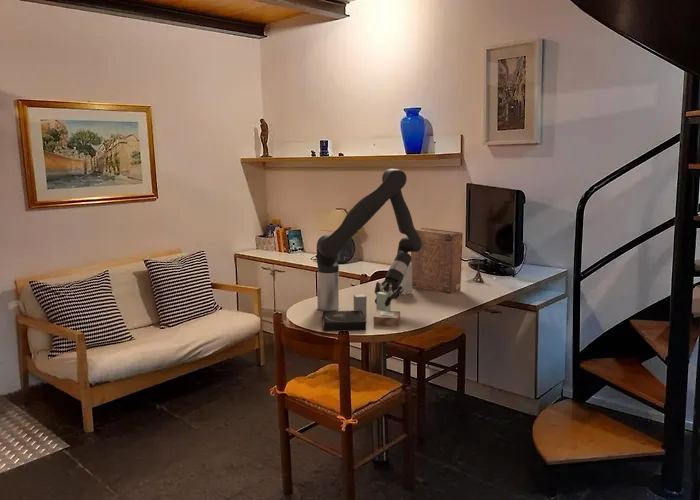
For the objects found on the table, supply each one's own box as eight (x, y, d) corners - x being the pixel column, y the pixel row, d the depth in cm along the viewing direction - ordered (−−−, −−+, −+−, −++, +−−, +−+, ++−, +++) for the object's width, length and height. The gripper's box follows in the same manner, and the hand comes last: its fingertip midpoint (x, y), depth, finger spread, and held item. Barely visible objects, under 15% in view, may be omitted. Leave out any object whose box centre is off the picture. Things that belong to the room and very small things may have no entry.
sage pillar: (384, 314, 263) (385, 294, 261) (376, 312, 266) (376, 292, 264) (390, 312, 266) (390, 292, 265) (382, 310, 269) (382, 291, 268)
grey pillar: (356, 317, 258) (356, 297, 257) (353, 314, 263) (353, 294, 261) (366, 316, 259) (366, 296, 258) (363, 314, 264) (363, 294, 262)
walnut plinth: (373, 326, 247) (373, 316, 246) (376, 319, 257) (376, 309, 256) (398, 327, 245) (398, 317, 245) (400, 320, 255) (400, 310, 254)
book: (409, 285, 317) (411, 229, 312) (420, 283, 324) (421, 227, 319) (450, 293, 300) (452, 234, 295) (460, 290, 307) (462, 232, 302)
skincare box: (412, 293, 301) (413, 262, 299) (404, 295, 296) (405, 264, 294) (399, 290, 307) (399, 260, 304) (391, 292, 302) (391, 262, 299)
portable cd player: (321, 320, 255) (321, 311, 254) (361, 319, 257) (361, 310, 256) (323, 332, 239) (323, 322, 238) (365, 331, 241) (366, 321, 240)
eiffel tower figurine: (474, 278, 337) (475, 255, 335) (491, 281, 331) (492, 257, 329) (462, 283, 325) (463, 259, 323) (480, 286, 320) (481, 261, 317)
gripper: (380, 266, 273) (364, 297, 265) (407, 270, 264) (391, 302, 257) (386, 275, 278) (371, 306, 270) (413, 279, 269) (398, 311, 262)
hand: (381, 304), depth 264 cm, fingers closed on sage pillar, 4 cm apart
